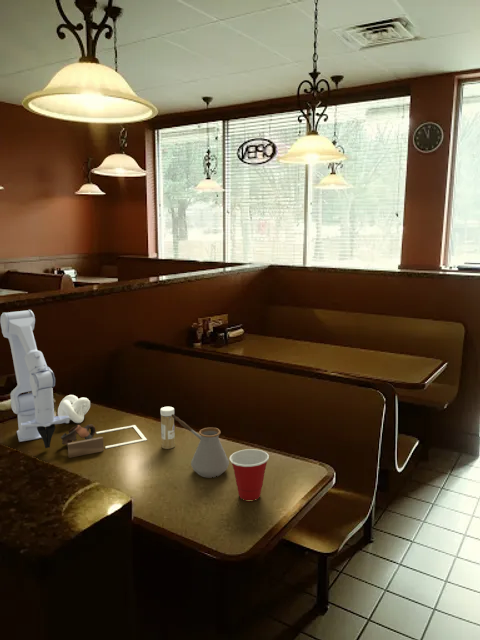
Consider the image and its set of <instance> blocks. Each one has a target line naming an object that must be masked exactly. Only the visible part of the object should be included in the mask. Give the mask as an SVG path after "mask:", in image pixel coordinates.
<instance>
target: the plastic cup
mask: <svg viewBox="0 0 480 640" xmlns="http://www.w3.org/2000/svg"><path fill="white" fill-rule="evenodd" d="M269 457H270V454H268V452H266V451H264V450H262V449H257V448H256V449H255V448H246V449H242V450H241V449H240V450H237V451H235V452H233V453H232V454H231V455H229V458H228V460H229V462H230V463H231V465H232V468H233V472H234V478H235V483H236V487H237V493H238V496H240V497H239V499H241V498H242V499H244V500H255V499H258V498H259V497H261V493H262V488H263V484H264V479H265V472H266V467H267V463H268V461H269ZM242 499H241V500H242ZM259 499H260V498H259ZM259 499H258V500H259ZM244 500H243V501H244Z"/></svg>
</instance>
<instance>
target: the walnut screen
mask: <svg viewBox="0 0 480 640" xmlns="http://www.w3.org/2000/svg"><path fill="white" fill-rule="evenodd" d="M104 448H105V445H104V437H103V436H98V437H92V439H88V440H86V439H82V440H76V441H72V442H71V443H68V445H67V453H68V454H67V455H68V456H67V457H68V458H69V459H70V458H71V459H72V458H77V457H80V456H86V455H90V454H94V453H100V452H104V450H105V449H104Z"/></svg>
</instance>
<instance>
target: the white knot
mask: <svg viewBox="0 0 480 640" xmlns="http://www.w3.org/2000/svg"><path fill="white" fill-rule="evenodd" d="M58 405H59V406H58V408H57V416H68V417H69V422H70V421H72V422H73V423H75V424H81V423H82V422H83V421H84V419H85V415H86V414H87V413H88V411H89V410H90V408H91V400H89V398H87V397H80V398H78V396H76V395H74V394H69V395H66V396H65V397H64V398H62V400H61V401H60V403H59V404H58Z"/></svg>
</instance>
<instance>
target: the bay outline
mask: <svg viewBox="0 0 480 640" xmlns="http://www.w3.org/2000/svg"><path fill="white" fill-rule="evenodd" d="M132 428H133V429H134V431H135V432H136V433H137V434H138V436H139V437H140V438H141V439H135V440H130V441H124V442H121V443H116V444H110V445H106V446H105V445H104V448H105V449H110V448H111V449H112V448H115V447H120V446H126V445H132V444H134V443H141V442H145V441H148V439H147V437H145V435H144V434H143V433H142V431H141V430H140V429H139V427H137V425H136V424H132V425H128V426H123V427H122V426H121V427H115V428H112V429H111V428H110V429H106V430H100V431H95V434H96V435H100V434H105V433H111V432H115V431H116V432H117V431H120V430H126V429H132Z"/></svg>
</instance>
